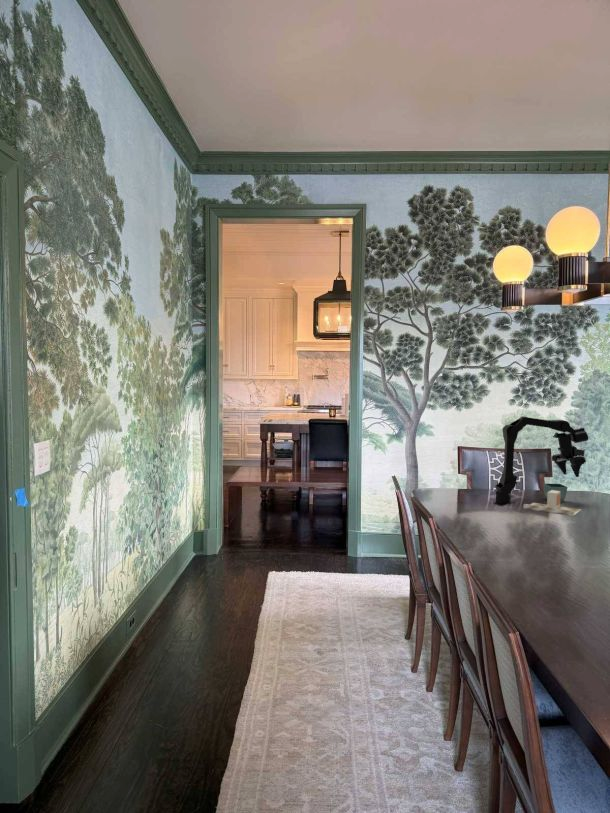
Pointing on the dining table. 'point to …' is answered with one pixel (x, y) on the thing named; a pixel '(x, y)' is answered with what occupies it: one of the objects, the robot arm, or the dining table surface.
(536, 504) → the shelf board
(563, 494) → the flower pot
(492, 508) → the dining table surface
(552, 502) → the carton
